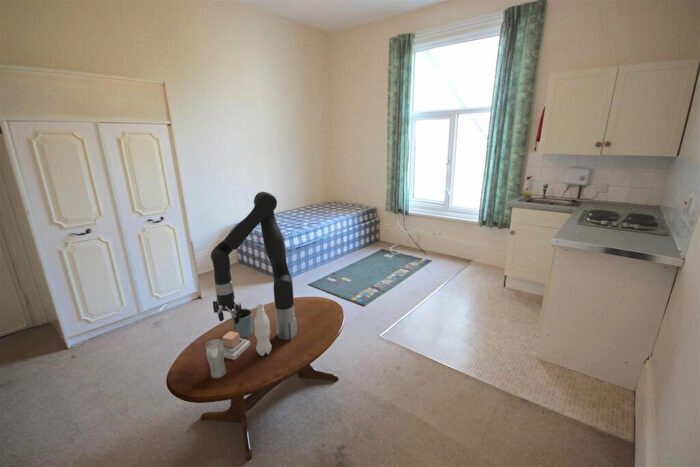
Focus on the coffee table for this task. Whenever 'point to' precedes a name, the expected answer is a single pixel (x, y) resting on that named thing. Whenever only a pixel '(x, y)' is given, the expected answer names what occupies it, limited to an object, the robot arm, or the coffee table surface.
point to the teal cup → (244, 323)
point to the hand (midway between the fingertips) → (229, 321)
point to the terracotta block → (231, 340)
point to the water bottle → (262, 331)
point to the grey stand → (236, 349)
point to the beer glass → (216, 357)
